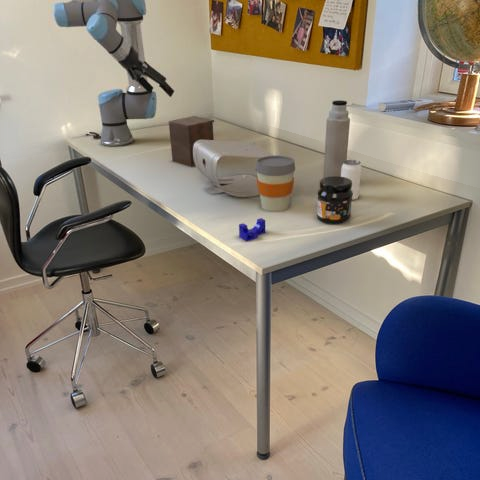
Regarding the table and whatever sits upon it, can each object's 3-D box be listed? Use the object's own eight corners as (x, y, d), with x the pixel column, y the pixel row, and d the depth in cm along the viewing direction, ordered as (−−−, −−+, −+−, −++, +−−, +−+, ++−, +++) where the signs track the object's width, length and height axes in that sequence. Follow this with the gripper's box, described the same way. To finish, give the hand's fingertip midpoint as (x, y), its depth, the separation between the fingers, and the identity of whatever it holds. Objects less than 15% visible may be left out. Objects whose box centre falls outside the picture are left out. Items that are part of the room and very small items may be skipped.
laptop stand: (194, 182, 196) (191, 140, 187) (251, 173, 203) (250, 132, 195) (218, 203, 176) (216, 157, 168) (280, 192, 183) (281, 147, 175)
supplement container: (310, 221, 160) (312, 183, 153) (324, 210, 167) (326, 173, 161) (342, 227, 155) (346, 188, 149) (355, 216, 163) (359, 178, 156)
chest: (195, 154, 228) (192, 118, 220) (214, 160, 220) (212, 122, 212) (172, 161, 221) (168, 123, 213) (191, 166, 213) (188, 127, 205)
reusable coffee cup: (266, 215, 165) (266, 168, 157) (250, 203, 175) (249, 158, 167) (300, 209, 169) (302, 163, 161) (283, 197, 179) (283, 153, 171)
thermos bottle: (325, 178, 196) (330, 98, 181) (346, 179, 193) (353, 99, 178) (321, 184, 189) (325, 102, 174) (342, 186, 187) (349, 103, 172)
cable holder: (246, 241, 149) (245, 228, 147) (239, 237, 151) (238, 224, 149) (268, 234, 153) (268, 221, 150) (261, 230, 155) (261, 218, 153)
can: (354, 202, 173) (357, 166, 167) (336, 198, 176) (338, 163, 170) (361, 196, 178) (364, 161, 171) (343, 193, 181) (346, 158, 174)
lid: (194, 117, 220) (194, 115, 220) (214, 122, 212) (214, 119, 212) (168, 123, 213) (168, 121, 212) (188, 127, 205) (188, 125, 204)
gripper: (149, 46, 181) (186, 87, 198) (110, 43, 197) (147, 81, 213) (138, 64, 181) (176, 103, 198) (100, 60, 196) (138, 97, 213)
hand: (161, 92), depth 206 cm, fingers open, 13 cm apart
